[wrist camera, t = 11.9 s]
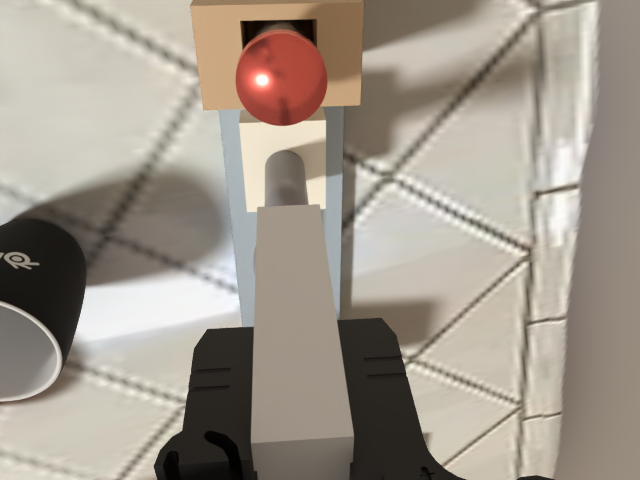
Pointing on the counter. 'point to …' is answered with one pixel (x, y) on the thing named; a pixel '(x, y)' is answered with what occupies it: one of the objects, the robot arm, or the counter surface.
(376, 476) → the robot arm
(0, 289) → the mug
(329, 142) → the rail
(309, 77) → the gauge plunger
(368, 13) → the counter surface
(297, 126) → the carriage
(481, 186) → the counter surface
